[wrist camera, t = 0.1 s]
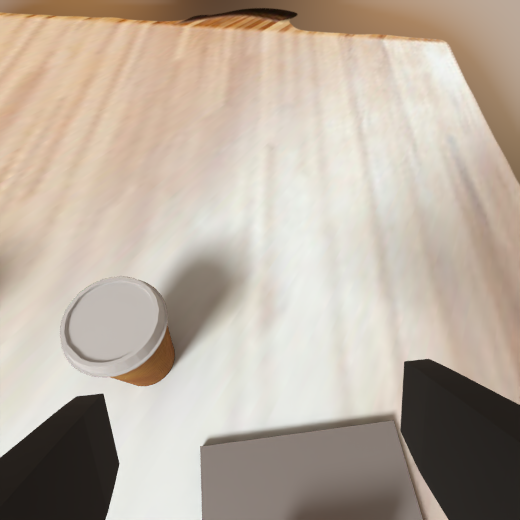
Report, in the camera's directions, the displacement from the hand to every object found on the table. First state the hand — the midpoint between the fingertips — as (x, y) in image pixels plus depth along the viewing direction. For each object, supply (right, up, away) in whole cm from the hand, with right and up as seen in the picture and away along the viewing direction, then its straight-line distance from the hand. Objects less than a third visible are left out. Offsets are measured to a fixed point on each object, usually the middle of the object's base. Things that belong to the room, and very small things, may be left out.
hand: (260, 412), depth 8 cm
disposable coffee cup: (-13, -8, +33) cm, 36 cm away
